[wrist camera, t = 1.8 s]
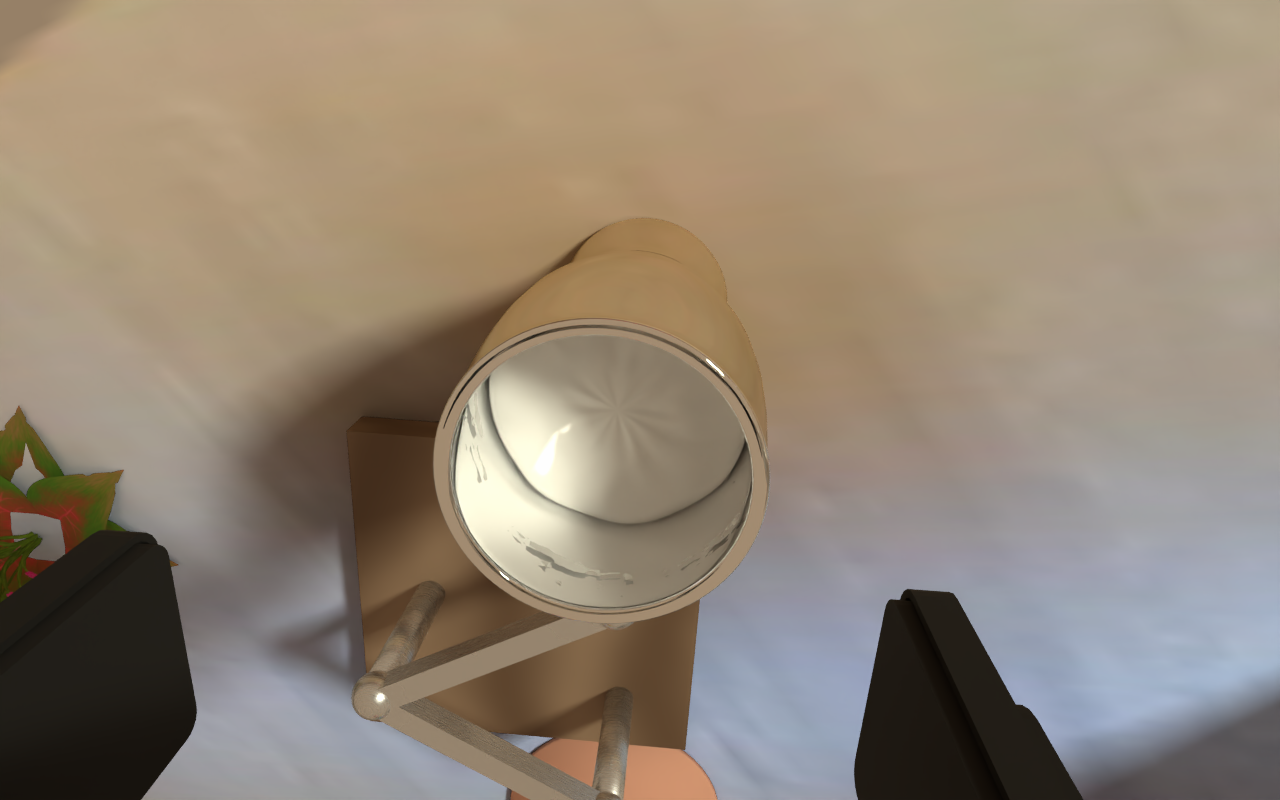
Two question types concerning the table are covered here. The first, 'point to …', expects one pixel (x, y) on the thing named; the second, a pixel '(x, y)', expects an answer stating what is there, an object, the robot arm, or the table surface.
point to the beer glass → (610, 434)
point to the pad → (633, 770)
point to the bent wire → (405, 682)
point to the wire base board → (499, 611)
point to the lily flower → (46, 503)
